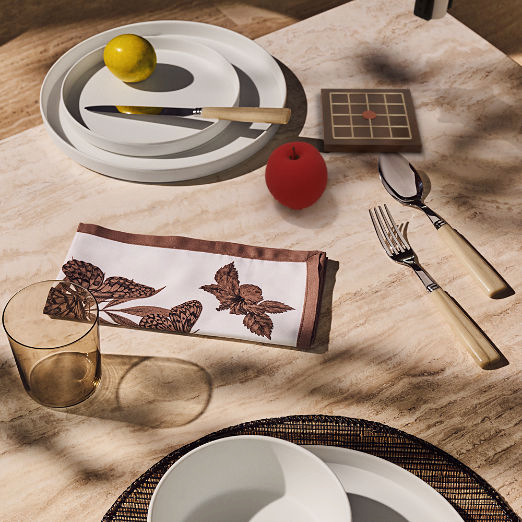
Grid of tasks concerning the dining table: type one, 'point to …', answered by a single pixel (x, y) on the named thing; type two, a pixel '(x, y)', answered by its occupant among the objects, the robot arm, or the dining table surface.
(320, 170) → the apple
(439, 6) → the white cylinder
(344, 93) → the board
